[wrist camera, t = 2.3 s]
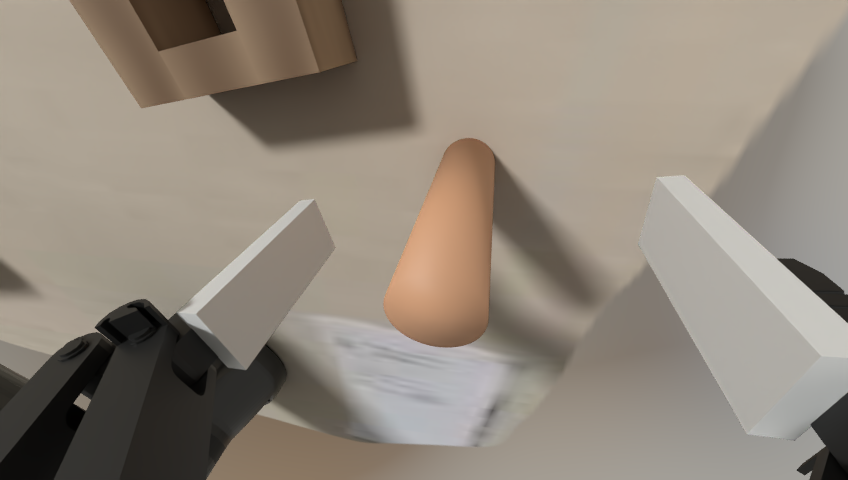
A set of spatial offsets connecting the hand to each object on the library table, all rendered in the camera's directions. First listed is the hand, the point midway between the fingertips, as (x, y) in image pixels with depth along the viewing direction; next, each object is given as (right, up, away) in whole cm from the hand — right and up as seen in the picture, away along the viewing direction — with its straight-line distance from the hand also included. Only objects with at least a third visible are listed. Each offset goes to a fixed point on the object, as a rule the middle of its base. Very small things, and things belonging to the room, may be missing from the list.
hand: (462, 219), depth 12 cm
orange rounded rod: (+1, +3, +5) cm, 6 cm away
